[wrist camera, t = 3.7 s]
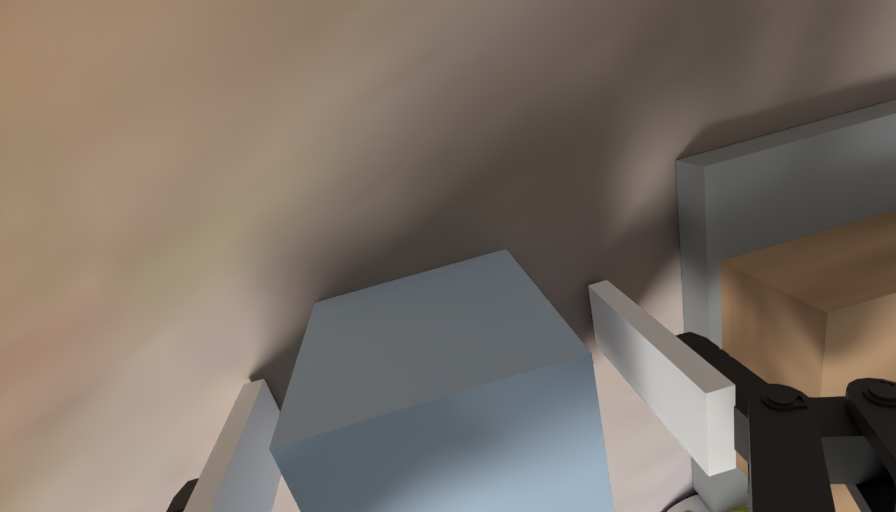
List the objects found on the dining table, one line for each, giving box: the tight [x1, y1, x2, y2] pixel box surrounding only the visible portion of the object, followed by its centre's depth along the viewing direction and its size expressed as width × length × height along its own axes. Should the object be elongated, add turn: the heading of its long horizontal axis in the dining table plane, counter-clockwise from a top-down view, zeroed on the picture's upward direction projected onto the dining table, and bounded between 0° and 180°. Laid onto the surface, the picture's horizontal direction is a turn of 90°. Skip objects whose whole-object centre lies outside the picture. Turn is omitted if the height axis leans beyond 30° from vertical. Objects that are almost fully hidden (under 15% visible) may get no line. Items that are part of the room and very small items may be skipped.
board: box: [675, 99, 896, 512], centre depth 18 cm, size 16×10×2 cm, turn 14°
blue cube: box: [269, 249, 614, 512], centre depth 14 cm, size 7×7×7 cm
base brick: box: [721, 210, 896, 512], centre depth 16 cm, size 9×9×4 cm
